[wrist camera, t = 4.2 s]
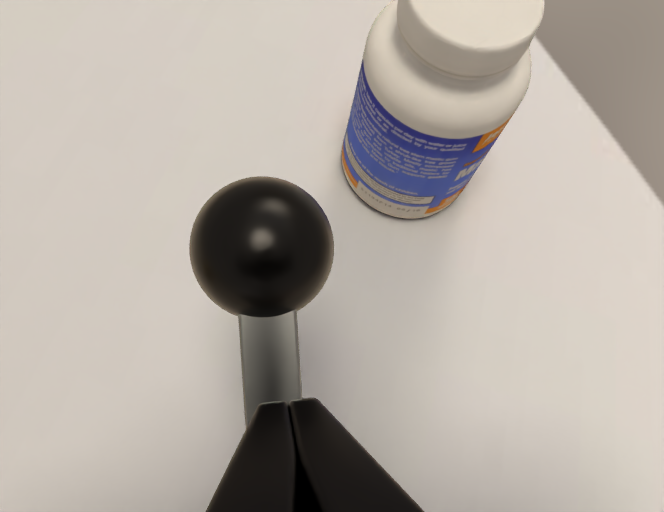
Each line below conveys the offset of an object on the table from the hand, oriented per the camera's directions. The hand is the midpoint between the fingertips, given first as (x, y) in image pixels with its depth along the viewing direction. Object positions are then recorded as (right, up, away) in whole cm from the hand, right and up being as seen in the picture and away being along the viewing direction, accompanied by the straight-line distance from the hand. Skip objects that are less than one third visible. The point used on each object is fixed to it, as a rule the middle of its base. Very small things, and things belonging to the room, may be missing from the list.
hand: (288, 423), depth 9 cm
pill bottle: (+4, +6, +18) cm, 19 cm away
